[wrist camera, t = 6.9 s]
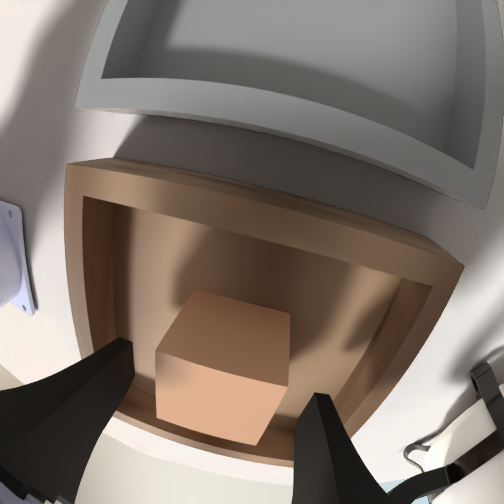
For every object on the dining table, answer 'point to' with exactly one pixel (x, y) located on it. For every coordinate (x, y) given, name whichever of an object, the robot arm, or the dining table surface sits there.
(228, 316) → the terracotta block
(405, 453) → the coffee press
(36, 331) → the dining table surface
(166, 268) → the walnut crate
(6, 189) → the dining table surface
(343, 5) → the grey bin
